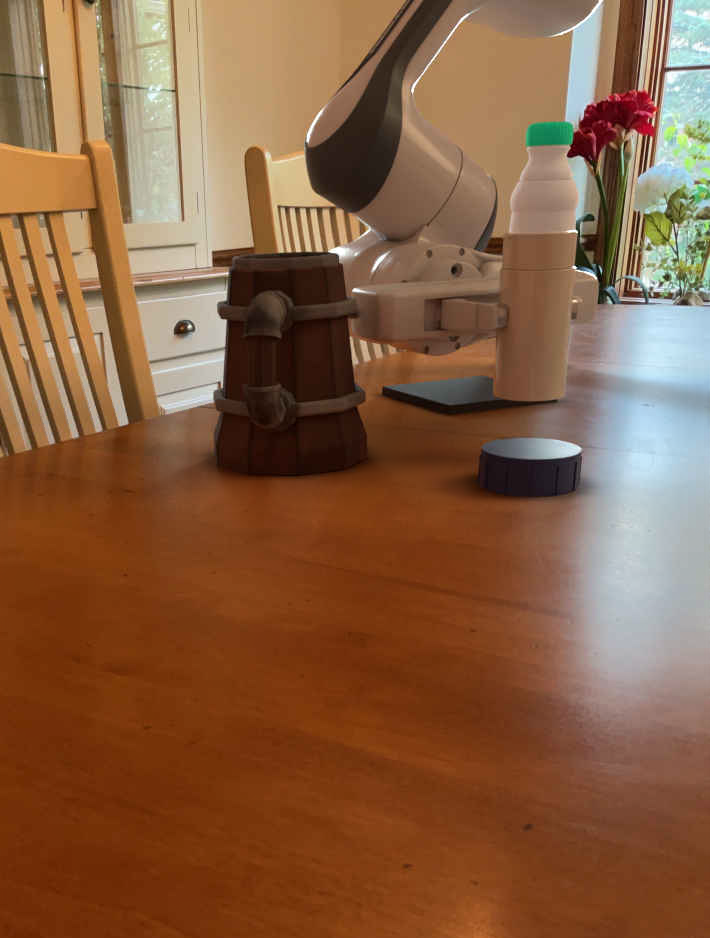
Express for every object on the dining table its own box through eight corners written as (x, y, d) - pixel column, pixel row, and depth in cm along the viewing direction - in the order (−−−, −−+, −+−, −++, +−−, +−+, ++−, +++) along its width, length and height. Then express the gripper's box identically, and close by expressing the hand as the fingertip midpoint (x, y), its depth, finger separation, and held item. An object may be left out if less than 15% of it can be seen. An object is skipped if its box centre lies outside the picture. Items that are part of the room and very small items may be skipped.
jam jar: (530, 386, 81) (542, 229, 77) (579, 395, 77) (595, 230, 72) (477, 393, 79) (487, 232, 75) (524, 404, 75) (537, 234, 70)
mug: (232, 441, 88) (226, 251, 82) (376, 444, 85) (380, 248, 79) (178, 489, 74) (165, 265, 68) (347, 495, 71) (350, 262, 65)
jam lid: (458, 484, 73) (460, 446, 72) (524, 469, 76) (527, 433, 75) (531, 504, 67) (534, 464, 66) (598, 487, 71) (602, 449, 70)
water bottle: (495, 372, 116) (511, 122, 106) (503, 362, 122) (519, 125, 112) (561, 373, 114) (584, 118, 104) (565, 364, 120) (587, 122, 110)
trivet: (481, 385, 109) (482, 375, 108) (557, 403, 99) (558, 392, 98) (381, 396, 105) (382, 386, 104) (449, 416, 94) (450, 405, 94)
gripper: (321, 267, 82) (416, 278, 70) (533, 252, 89) (652, 259, 78) (321, 349, 85) (414, 373, 73) (528, 328, 92) (642, 346, 80)
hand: (538, 314), depth 75 cm, fingers closed on jam jar, 5 cm apart
